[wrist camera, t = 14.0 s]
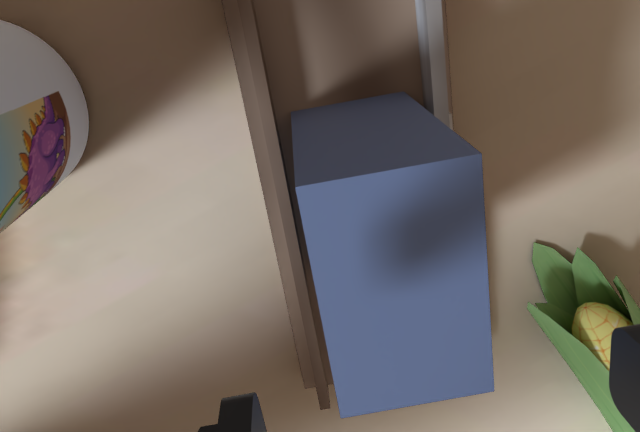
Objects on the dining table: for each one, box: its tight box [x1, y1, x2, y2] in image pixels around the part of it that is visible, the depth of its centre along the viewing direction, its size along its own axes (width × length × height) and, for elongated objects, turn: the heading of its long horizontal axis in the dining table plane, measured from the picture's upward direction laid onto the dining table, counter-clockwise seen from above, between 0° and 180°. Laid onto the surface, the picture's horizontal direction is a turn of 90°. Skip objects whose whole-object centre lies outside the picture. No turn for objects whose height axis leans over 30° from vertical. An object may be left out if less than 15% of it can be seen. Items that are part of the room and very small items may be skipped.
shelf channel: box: [222, 0, 454, 410], centre depth 25 cm, size 9×22×3 cm, turn 9°
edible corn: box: [527, 242, 640, 432], centre depth 29 cm, size 5×20×5 cm, turn 38°
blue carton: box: [291, 91, 494, 418], centre depth 20 cm, size 5×8×10 cm, turn 10°
